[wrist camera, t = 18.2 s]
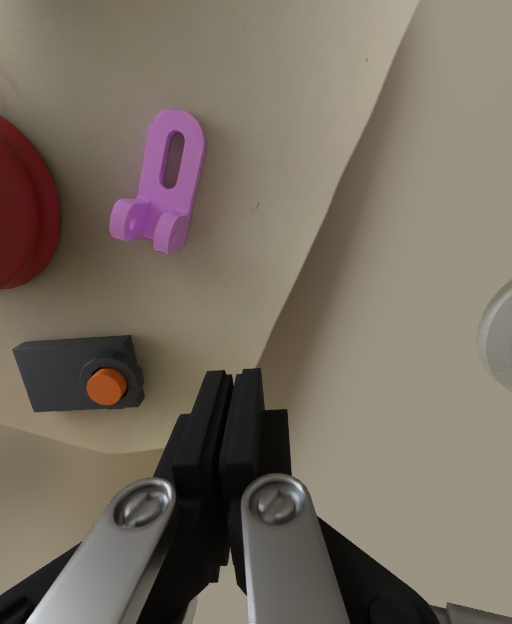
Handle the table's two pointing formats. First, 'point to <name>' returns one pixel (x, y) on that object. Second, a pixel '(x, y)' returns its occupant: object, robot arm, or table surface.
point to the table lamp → (25, 209)
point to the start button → (106, 386)
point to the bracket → (163, 186)
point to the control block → (76, 371)
